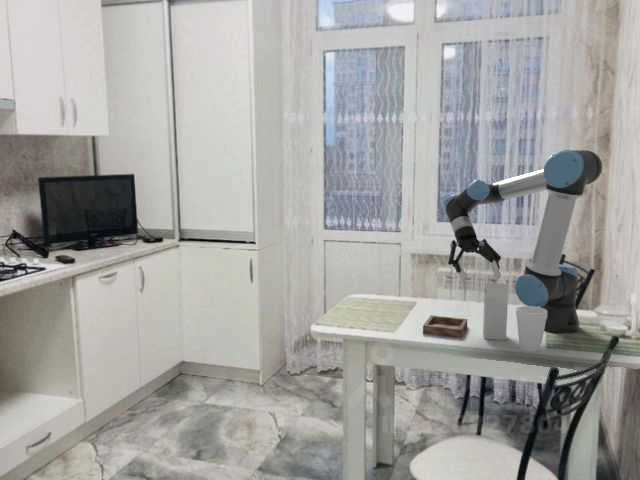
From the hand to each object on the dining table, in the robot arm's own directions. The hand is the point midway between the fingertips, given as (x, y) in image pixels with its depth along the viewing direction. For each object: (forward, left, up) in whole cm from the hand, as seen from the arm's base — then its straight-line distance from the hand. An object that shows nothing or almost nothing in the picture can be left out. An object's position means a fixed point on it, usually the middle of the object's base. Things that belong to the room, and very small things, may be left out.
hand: (481, 278), depth 210 cm
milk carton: (-6, +8, -19) cm, 21 cm away
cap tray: (+11, +7, -18) cm, 23 cm away
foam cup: (-18, +16, -19) cm, 30 cm away
